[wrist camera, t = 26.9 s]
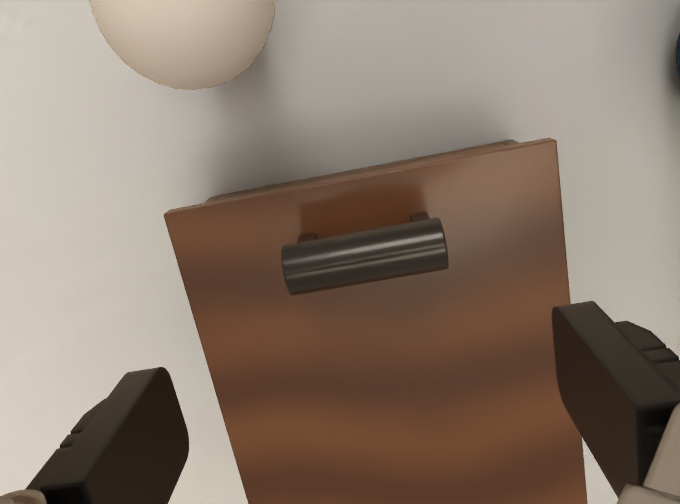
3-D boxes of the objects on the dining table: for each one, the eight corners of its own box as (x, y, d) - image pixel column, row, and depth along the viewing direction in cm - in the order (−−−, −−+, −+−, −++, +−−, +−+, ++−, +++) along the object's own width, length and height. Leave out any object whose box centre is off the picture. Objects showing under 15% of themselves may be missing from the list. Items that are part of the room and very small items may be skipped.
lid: (168, 209, 24) (121, 244, 19) (549, 137, 23) (601, 155, 18) (268, 551, 29) (250, 646, 24) (583, 510, 28) (629, 601, 23)
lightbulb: (288, 93, 28) (246, 108, 18) (164, 71, 28) (48, 74, 18) (306, -43, 26) (272, -116, 16) (174, -67, 26) (51, -156, 16)
